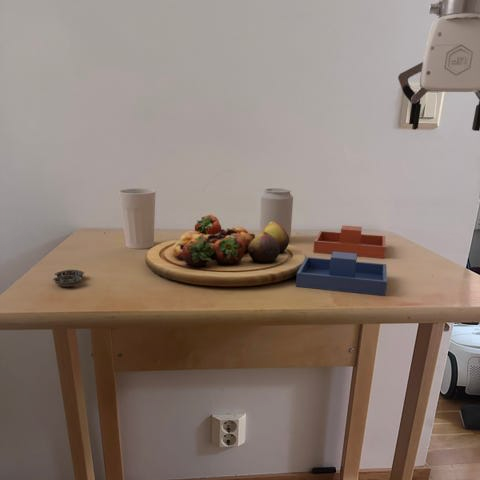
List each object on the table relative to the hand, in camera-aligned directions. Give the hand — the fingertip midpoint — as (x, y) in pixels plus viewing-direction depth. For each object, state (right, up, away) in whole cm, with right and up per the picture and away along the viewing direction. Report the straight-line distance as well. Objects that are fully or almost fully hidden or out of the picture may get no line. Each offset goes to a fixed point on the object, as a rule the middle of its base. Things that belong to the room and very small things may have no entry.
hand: (444, 129), depth 82 cm
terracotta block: (-9, -15, +29) cm, 34 cm away
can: (-26, -13, +36) cm, 46 cm away
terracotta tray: (-9, -16, +29) cm, 35 cm away
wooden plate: (-37, -21, +16) cm, 46 cm away
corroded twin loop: (-64, -25, +3) cm, 69 cm away
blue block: (-16, -25, +7) cm, 30 cm away
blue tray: (-16, -25, +7) cm, 30 cm away
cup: (-57, -15, +29) cm, 66 cm away
